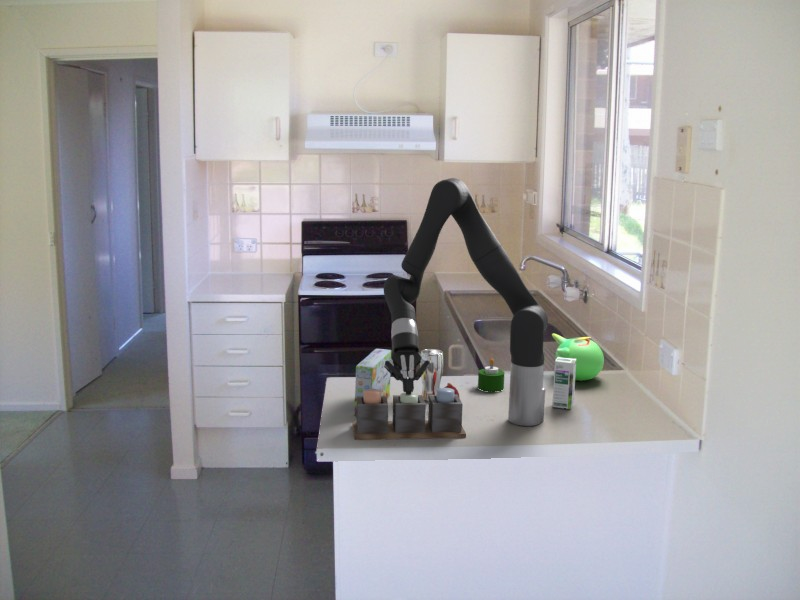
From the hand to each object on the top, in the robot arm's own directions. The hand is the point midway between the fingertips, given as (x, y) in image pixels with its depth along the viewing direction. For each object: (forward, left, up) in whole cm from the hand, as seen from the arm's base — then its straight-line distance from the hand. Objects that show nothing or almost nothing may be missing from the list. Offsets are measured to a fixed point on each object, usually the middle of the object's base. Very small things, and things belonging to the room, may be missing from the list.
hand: (408, 392), depth 228 cm
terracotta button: (+9, -4, -4) cm, 11 cm away
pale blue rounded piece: (-9, +4, -4) cm, 11 cm away
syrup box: (-53, +4, -11) cm, 54 cm away
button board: (0, 0, -11) cm, 11 cm away
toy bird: (-76, -15, -11) cm, 78 cm away
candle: (-44, -20, -11) cm, 49 cm away
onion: (-21, -10, -11) cm, 26 cm away
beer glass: (-21, -20, -11) cm, 31 cm away
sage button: (0, 0, -5) cm, 5 cm away
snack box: (-2, -23, -11) cm, 26 cm away
